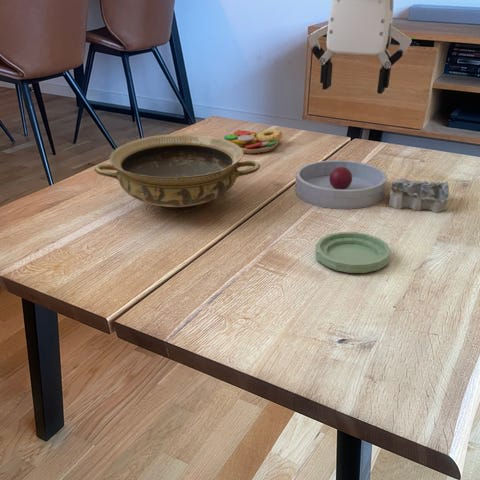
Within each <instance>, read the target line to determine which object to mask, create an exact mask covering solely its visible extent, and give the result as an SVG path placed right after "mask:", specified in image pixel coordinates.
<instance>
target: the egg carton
mask: <svg viewBox="0 0 480 480" xmlns="http://www.w3.org/2000/svg"><path fill="white" fill-rule="evenodd" d="M388 194H389V201H388V206H389V207H393V208H394V209H397V210H401V209H403V208H409V209H412V210H413V211H421V210H430V211H431V212H432V213H440V212H442V211H445V210H446V208H447V204H448V201H449V200H450V187H449V181H444V182H433V181H431V182H428V181H427V180H423V181H418V180H413V181H412V180H409V179H406V178H398V179H396V180H394V181H392V182H390V188H389V190H388Z"/></svg>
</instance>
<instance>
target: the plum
mask: <svg viewBox="0 0 480 480" xmlns="http://www.w3.org/2000/svg"><path fill="white" fill-rule="evenodd" d="M329 181H330V184H331V186H332V187H333V188H335V189H340V190H344V189H346V188H348V187H349V186H350V184H351V182H352V174H351V172H350V171H349V170H348V169H347V168H345V167H338V168H335V169H334V170H333V171H332V172H331V174H330V177H329Z"/></svg>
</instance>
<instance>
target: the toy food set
mask: <svg viewBox="0 0 480 480" xmlns="http://www.w3.org/2000/svg"><path fill="white" fill-rule="evenodd" d="M223 139H224V140H227V141H230V142H232V143H234V144H236V145H238V146H239V147H240V148H241V149H242V151H243V154H261V152H262V153H266V152H269V151H272V150H273V149H275V147H276V146H277V145H278V144H279V141H281V140H282V139H283V132H282V130H280V129H277V128H269V129H265V130H262V131H259V132H258V133H256V132H254V131H249V130H242V129H240V130H239V129H238V130H236V131H234V132H232V133H230V134H226V135H224V136H223Z"/></svg>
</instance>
